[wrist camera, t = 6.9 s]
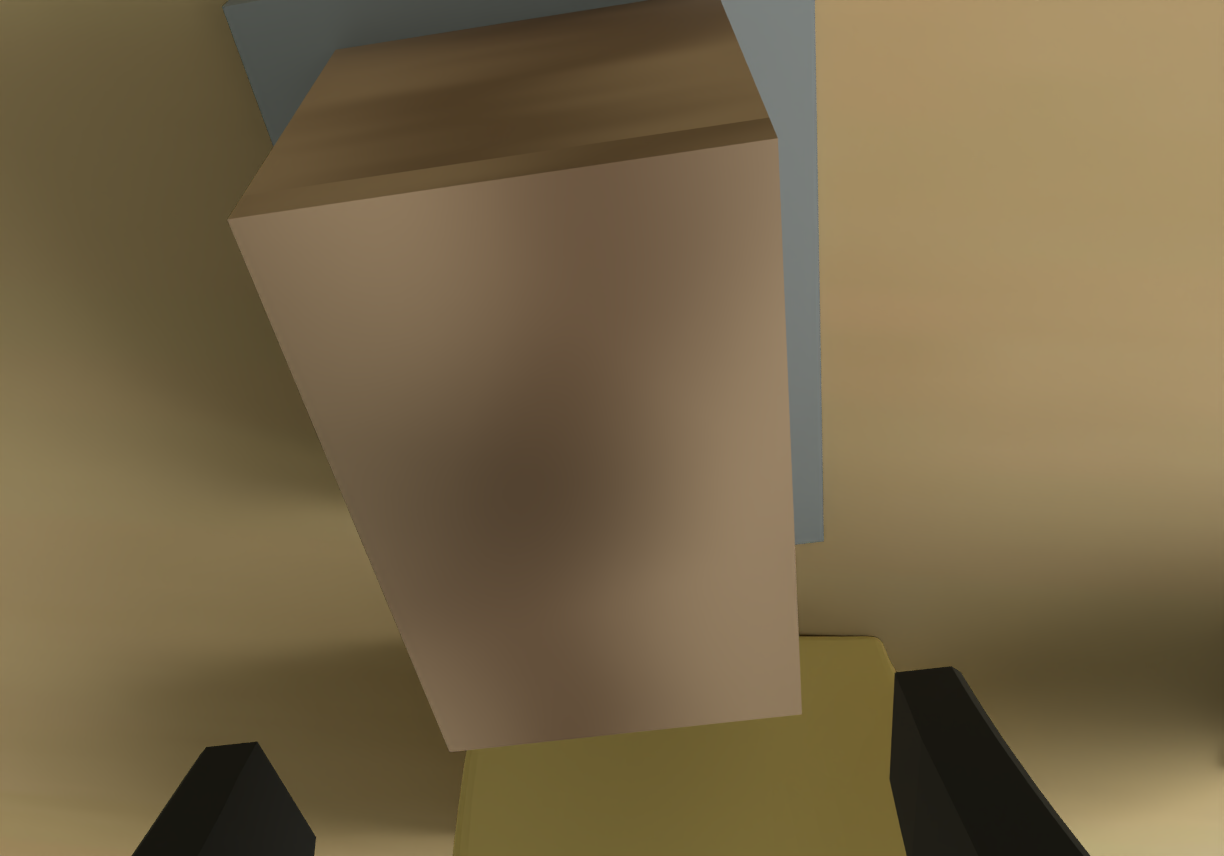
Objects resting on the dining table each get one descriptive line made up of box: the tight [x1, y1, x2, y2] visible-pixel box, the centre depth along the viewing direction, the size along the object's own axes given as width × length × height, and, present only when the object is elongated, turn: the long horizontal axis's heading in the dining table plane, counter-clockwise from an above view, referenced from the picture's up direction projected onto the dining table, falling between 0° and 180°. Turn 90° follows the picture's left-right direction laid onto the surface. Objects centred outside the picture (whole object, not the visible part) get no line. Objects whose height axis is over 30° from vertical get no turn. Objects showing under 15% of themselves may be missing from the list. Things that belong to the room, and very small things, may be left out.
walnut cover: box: [227, 0, 802, 752], centre depth 16 cm, size 6×10×6 cm, turn 8°
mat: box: [222, 0, 824, 545], centre depth 19 cm, size 9×13×1 cm
